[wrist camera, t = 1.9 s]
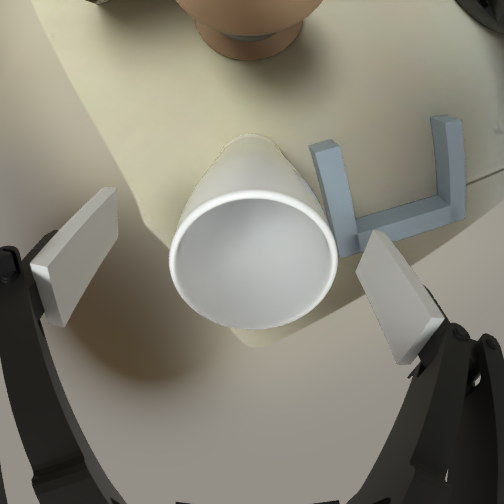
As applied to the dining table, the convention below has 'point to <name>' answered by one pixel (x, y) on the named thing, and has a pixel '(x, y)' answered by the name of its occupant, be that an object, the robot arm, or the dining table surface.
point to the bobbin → (249, 24)
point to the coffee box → (97, 1)
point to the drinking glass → (252, 240)
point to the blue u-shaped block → (402, 217)
